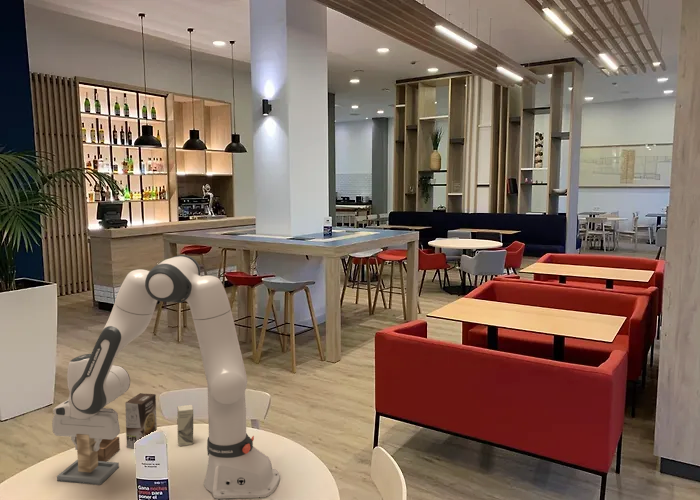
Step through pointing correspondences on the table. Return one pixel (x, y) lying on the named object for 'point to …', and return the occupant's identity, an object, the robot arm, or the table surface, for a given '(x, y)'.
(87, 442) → the pin
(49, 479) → the table surface
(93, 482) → the tray
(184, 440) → the box
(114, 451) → the holder
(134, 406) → the coffee box
